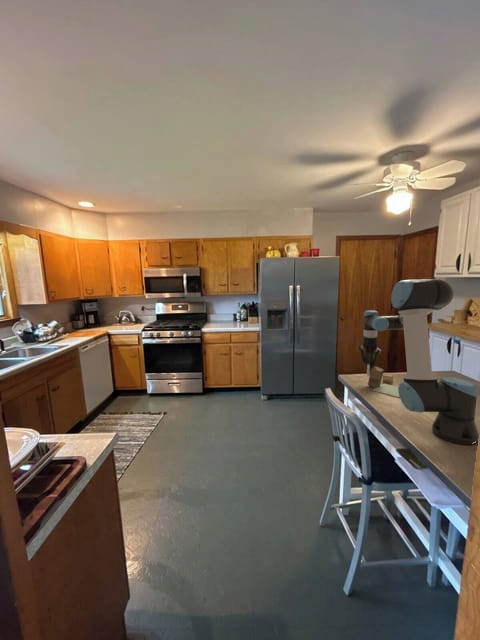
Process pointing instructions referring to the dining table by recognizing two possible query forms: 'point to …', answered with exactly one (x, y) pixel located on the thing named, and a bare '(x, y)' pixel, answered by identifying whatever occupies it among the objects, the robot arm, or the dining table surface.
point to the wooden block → (375, 377)
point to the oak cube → (387, 378)
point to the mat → (388, 390)
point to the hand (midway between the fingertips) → (369, 374)
